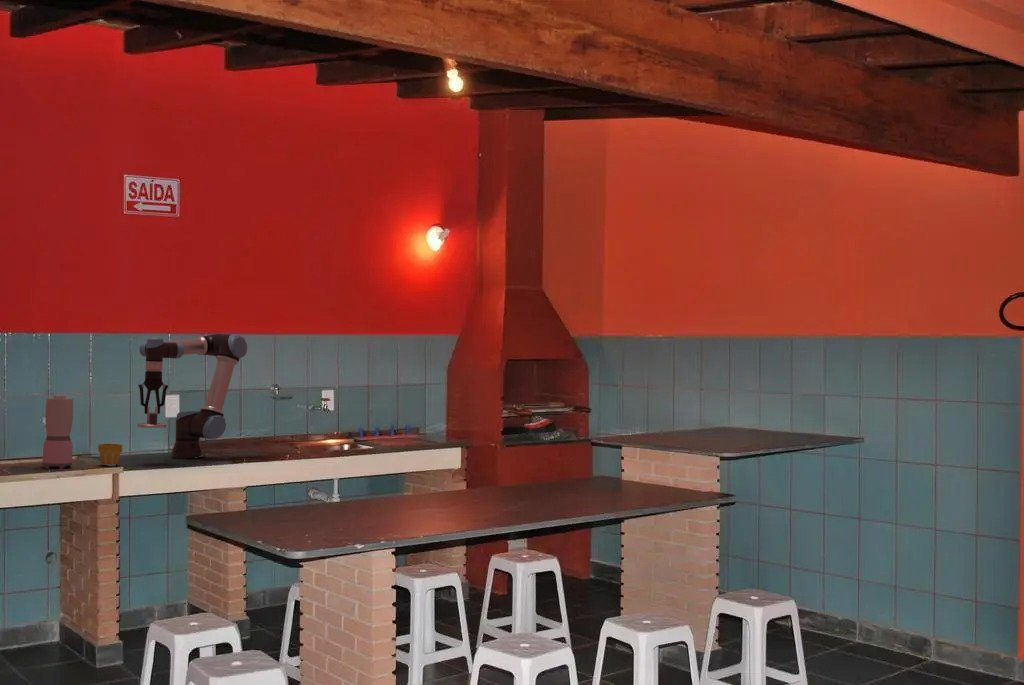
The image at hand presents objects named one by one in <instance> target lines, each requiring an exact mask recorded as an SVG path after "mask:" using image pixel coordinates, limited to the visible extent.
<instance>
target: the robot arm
mask: <svg viewBox="0 0 1024 685" xmlns="http://www.w3.org/2000/svg"><path fill="white" fill-rule="evenodd" d="M247 352H248V344H247V341H246V339H245V337H244V336H242V335H240V334H235V333H232V334H231V333H230V334H229V333H215V334H209V335H202V336H197V337H196V338H189V339H188V338H186V339H173V340H170V339H169V340H164V338H162V337H148V338H147V339H146V341H143V342H141V344H140V345H139V354H140V355H141V357H145V371H144V372H145V373H144V381H143V383H141V384H140V383H139V384H138V386H137V387H138V388H139V398H140V399H139V400H140V401H139V402H140V405H141V406H142V407H144V411H143V413H144V414H145V415H146V422H147V421H149V413H150V406H149V402H150V398H151V393H152V391H154V393H155V401H156V406H155V407H154V413H156V414H157V417H158V415H160V414H161V407H164V406H165V402H166V396H167V391H168V387H169V385H168V384H165V383H164V382H163V363H164V362H163V361H164V360H163V359H180V358H182V357H183V356H185V355H186V356H187V355H196V354H197V356H212V357H215V359H216V361H217V362H216V366H215V369H214V373H213V376H212V379H211V384H210V387H209V391H208V394H207V396H206V397H207V398H206V401H205V404H204V406H203V407H202V408H200V410H192V411H191V410H189V411H181V412H180V411H179V412H177V413H176V416H175V417H176V419H175V441H174V445H173V447H172V450H171V452H170V457H171V458H173V459H182V458H183V459H185V460H186V458H194V459H196V458H195V457H199V456H201V455H203V449H202V447H201V443H200V440H201V439H208V440H213V439H214V440H215V439H218V438H220V437H221V436H222V435H223V434H224V433H225V431H226V427H227V423H226V419H225V417H224V416H225V413H224V412H223V409H224V405H225V401H226V397H227V394H228V391H229V387H230V383H231V379H232V376H233V372H234V368H235V366H236V365H237V364H239V363H240V359H242V358H243V357H245V356H246V354H247ZM145 387H146V389H147V391H146V396H145V395H144V388H145ZM161 387H162V394H161V400H160V391H159V390H160V388H161ZM144 396H145V397H144ZM144 398H145V400H144ZM203 456H204V455H203Z"/></svg>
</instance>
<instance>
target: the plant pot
mask: <svg viewBox="0 0 1024 685" xmlns="http://www.w3.org/2000/svg"><path fill="white" fill-rule="evenodd" d="M97 446H98V447H97V448H98V449H97V451H98V453H99V456H100V464H101V463H103V464H117V465H118V463H119V459H120V455H121V453H122V452H123V444H120V443H99V444H98V445H97Z"/></svg>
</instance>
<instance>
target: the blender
mask: <svg viewBox="0 0 1024 685" xmlns="http://www.w3.org/2000/svg"><path fill="white" fill-rule="evenodd" d="M44 415H45V419H44V420H45V422H44V423H45V429H46V430H45V431H46V439H45V440H44V442H43V445H42V464H41V465H42V466H43V467H44V469H48V470H49V469H50V467H58V468H59V470H64V469H65V467H67V466H73V450H74V447H73V442H72V440H71V431H72V427H73V421H74V420H73V419H74V399H73V398H71V397H67V395H63V394H62V395H61V394H56V395H55V394H54V395H53V397H47V398H46V401H45V414H44ZM63 468H64V469H63Z"/></svg>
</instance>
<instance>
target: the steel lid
mask: <svg viewBox="0 0 1024 685" xmlns="http://www.w3.org/2000/svg"><path fill="white" fill-rule="evenodd" d="M136 427H137V428H144V429H145V428H147V429H149V428H150V429H151V428H152V429H158V428H161V429H162V428H167V423H161V422H160V423H159V422H158V416H157V414H156V413H155V412H149V421H146V422H142V423H139V422H138V423H137V424H136Z"/></svg>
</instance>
